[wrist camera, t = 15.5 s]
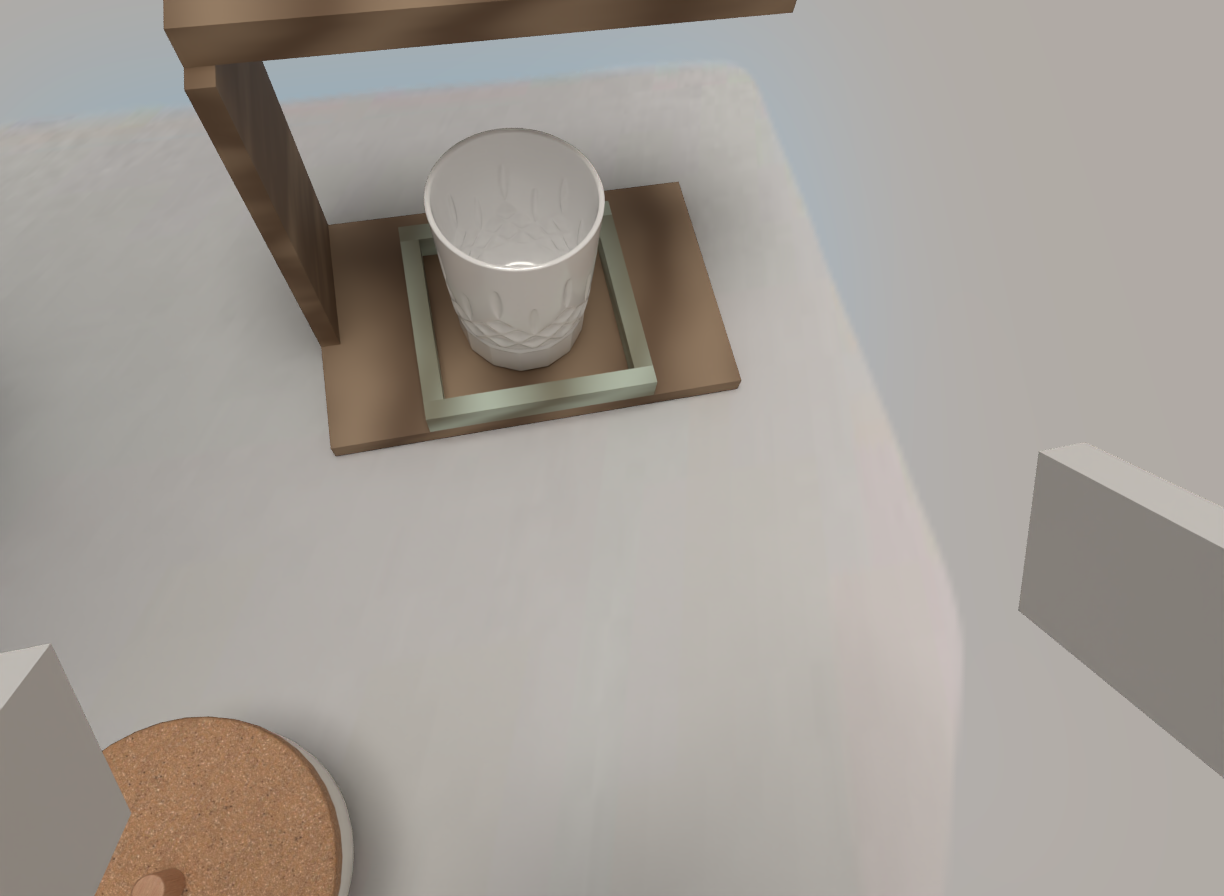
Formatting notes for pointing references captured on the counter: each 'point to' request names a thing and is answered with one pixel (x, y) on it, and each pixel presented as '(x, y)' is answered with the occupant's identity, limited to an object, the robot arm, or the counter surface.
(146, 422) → the counter surface
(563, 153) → the white cup
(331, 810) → the lidded jar
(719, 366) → the shelf unit
